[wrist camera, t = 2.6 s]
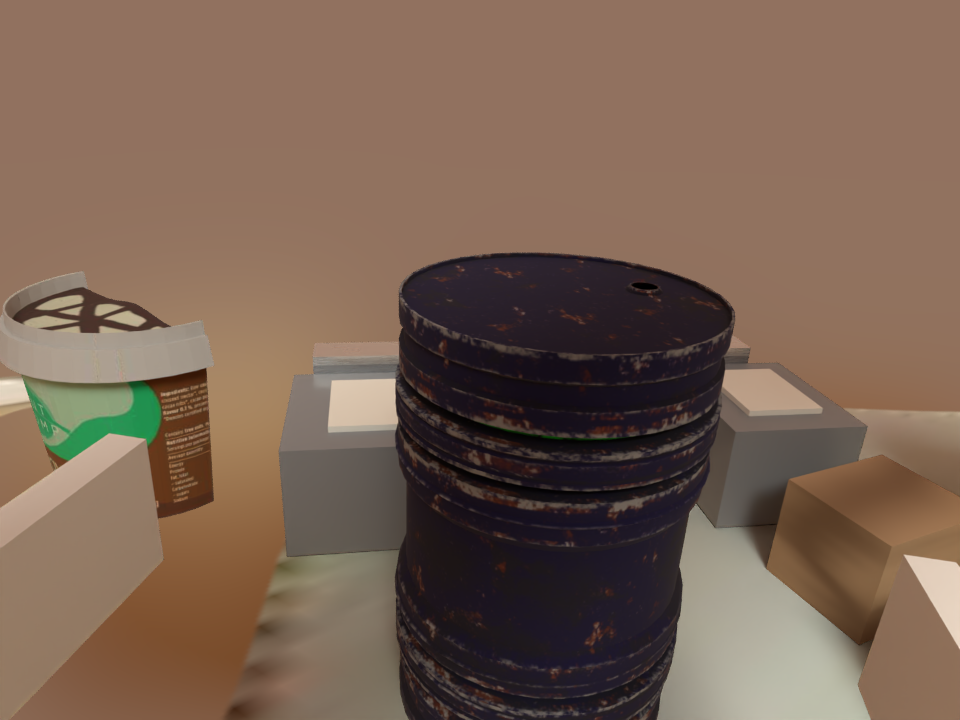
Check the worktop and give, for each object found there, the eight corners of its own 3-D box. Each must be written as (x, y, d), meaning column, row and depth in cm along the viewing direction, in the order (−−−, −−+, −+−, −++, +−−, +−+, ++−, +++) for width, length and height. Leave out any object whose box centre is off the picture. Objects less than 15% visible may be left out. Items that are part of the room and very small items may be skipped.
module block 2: (840, 519, 36) (869, 421, 34) (715, 528, 35) (737, 426, 33) (759, 443, 44) (779, 357, 41) (654, 448, 42) (668, 360, 40)
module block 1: (460, 544, 33) (464, 437, 31) (286, 556, 32) (278, 445, 29) (442, 458, 40) (444, 366, 38) (300, 464, 39) (294, 369, 37)
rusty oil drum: (449, 849, 20) (468, 380, 14) (366, 617, 28) (356, 261, 23) (721, 740, 24) (823, 333, 18) (577, 563, 32) (615, 245, 26)
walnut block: (953, 607, 31) (990, 513, 29) (858, 647, 28) (892, 547, 26) (855, 541, 35) (882, 454, 33) (765, 570, 32) (788, 479, 31)
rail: (730, 444, 43) (750, 347, 41) (318, 463, 39) (312, 357, 37) (715, 429, 45) (733, 335, 42) (320, 445, 41) (315, 343, 38)
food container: (-8, 473, 37) (-57, 292, 33) (108, 431, 41) (78, 268, 38) (106, 575, 30) (62, 362, 26) (231, 512, 35) (209, 323, 31)
